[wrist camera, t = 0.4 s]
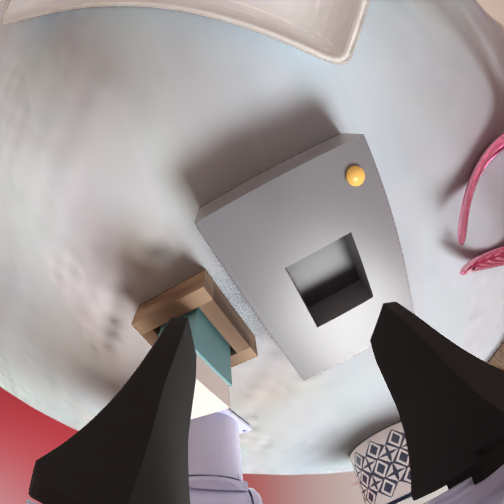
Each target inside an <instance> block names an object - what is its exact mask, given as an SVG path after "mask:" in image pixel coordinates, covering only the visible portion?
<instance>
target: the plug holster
mask: <svg viewBox="0 0 504 504" xmlns="http://www.w3.org/2000/svg"><path fill="white" fill-rule="evenodd" d="M197 307H199V308H200V309H201V311H202V312H203V313H204V314H205V315H206V317H207V318H208V319H209V320H210V322H211V323H212V324H213V325H214V326H215V328H216V329H217V330H218V331H219V333H220V334H221V335H222V336H223V337H224V338H225V340H226V341H227V342H228V343H229V344H230V358H231V367H233V366H236V365H238V364H241V363H243V362H246V361H248V360H250V359H253V358H255V357H257V356H258V354H257V348H256V341H255V336H254V335H253V333H252V332H251V331H250V329H249V328H248V327H247V325H246V324H245V323H244V321H243V320H242V319H241V317H240V316H239V315H238V313H237V312H236V311H235V309H234V308H233V307H232V305H231V304H230V303H229V301H228V300H227V298H226V297H225V296H224V294H223V293H222V292H221V290H220V289H219V287H218V286H217V285H216V283H215V282H214V280H213V279H212V278H211V276H210V275H209V273H208V272H207V271H206V269H205V270H203V271H201V272H200V273H198V274H196V275H194V276H192V277H190V278H189V279H187V280H185V281H183V282H181V283H179V284H178V285H176V286H174V287H172V288H170V289H169V290H167V291H165V292H163V293H161V294H159V295H158V296H156V297H154V298H152V299H150V300H148V301H147V302H145V303H143V304H141V305H139V307H138V309H137V312H136V314H135V316H134V319H133V321H132V324H131V325H132V326H133V327H134V328H135V329H136V330H137V331H138V332H139V333H140V334H141V335H142V336H143V337H144V338H145V340H146V341H147V342H148V343H149V344H150V345H151V346H153V345H154V343H155V342H156V340H157V339H158V335H159V332H160V328H161V325H163V324H165V323H167V322H168V321H169V319H170V318H171V317H179V316H181V315H183V314H185V313H187V312H189V311H191V310H193V309H195V308H197Z"/></svg>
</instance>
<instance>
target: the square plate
mask: <svg viewBox="0 0 504 504" xmlns="http://www.w3.org/2000/svg"><path fill="white" fill-rule="evenodd" d="M369 3H370V0H11V2H10V3H9V5H8V7H7V9H6V11H5V14H4V16H3V18H2V24H3V25H6V24H12V23H16V22H20V21H24V20H27V19H31V18H35V17H39V16H43V15H47V14H52V13H56V12H62V11H67V10H73V9H80V8H90V7H105V6H139V7H152V8H162V9H169V10H175V11H181V12H186V13H191V14H196V15H201V16H205V17H209V18H213V19H217V20H221V21H224V22H228V23H231V24H234V25H237V26H240V27H243V28H246V29H249V30H252V31H255V32H258V33H260V34H263V35H266V36H268V37H271V38H273V39H276V40H278V41H281V42H283V43H285V44H288V45H290V46H292V47H295V48H297V49H299V50H302V51H304V52H306V53H309V54H311V55H313V56H315V57H318V58H320V59H323V60H326V61H328V62H331V63H333V64H339V65H342V64H346V63H347V62H348V61H349V60H350V59H351V57H352V55H353V52H354V50H355V47H356V45H357V42H358V39H359V36H360V33H361V30H362V26H363V23H364V20H365V17H366V13H367V9H368V6H369Z"/></svg>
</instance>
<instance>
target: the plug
mask: <svg viewBox="0 0 504 504" xmlns="http://www.w3.org/2000/svg"><path fill="white" fill-rule="evenodd" d="M179 317H188V318H189V323H190V328H191V333H192V337H193V342H194V346H195V351H196V355H197V358H196V383H195V390H194V398H193V405H192V412H191V419H194V418H198V417H201V416H205V415H208V414H212V413H215V412H218V411H221V410H225V409H228V408H230V400H229V386H232V379H231V358H230V344H229V343H228V342H227V341H226V340H225V338H224V337H223V336H222V335H221V334H220V333H219V331H218V330H217V329H216V328H215V326H214V325H213V324H212V323H211V322H210V320H209V319H208V318H207V317H206V315H205V314H204V313H203V312H202V311H201V309H200V308H199V307H197V308H195V309H193V310H191V311H189V312H187V313H185V314H183V315H181V316H179ZM166 324H167V323H165V324H163V325H161V328H160V332H159V335H158V337H159V336H160V334H161V332H162V331H163V329H164V327H165V326H166Z"/></svg>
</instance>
